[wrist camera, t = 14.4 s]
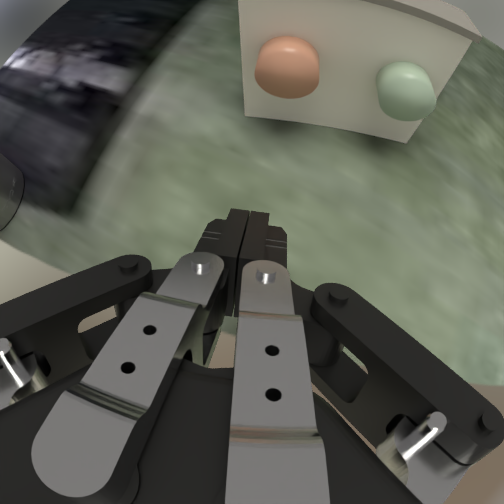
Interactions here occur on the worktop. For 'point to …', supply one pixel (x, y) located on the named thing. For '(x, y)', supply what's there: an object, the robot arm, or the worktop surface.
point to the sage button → (405, 91)
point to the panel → (353, 56)
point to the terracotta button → (287, 67)
